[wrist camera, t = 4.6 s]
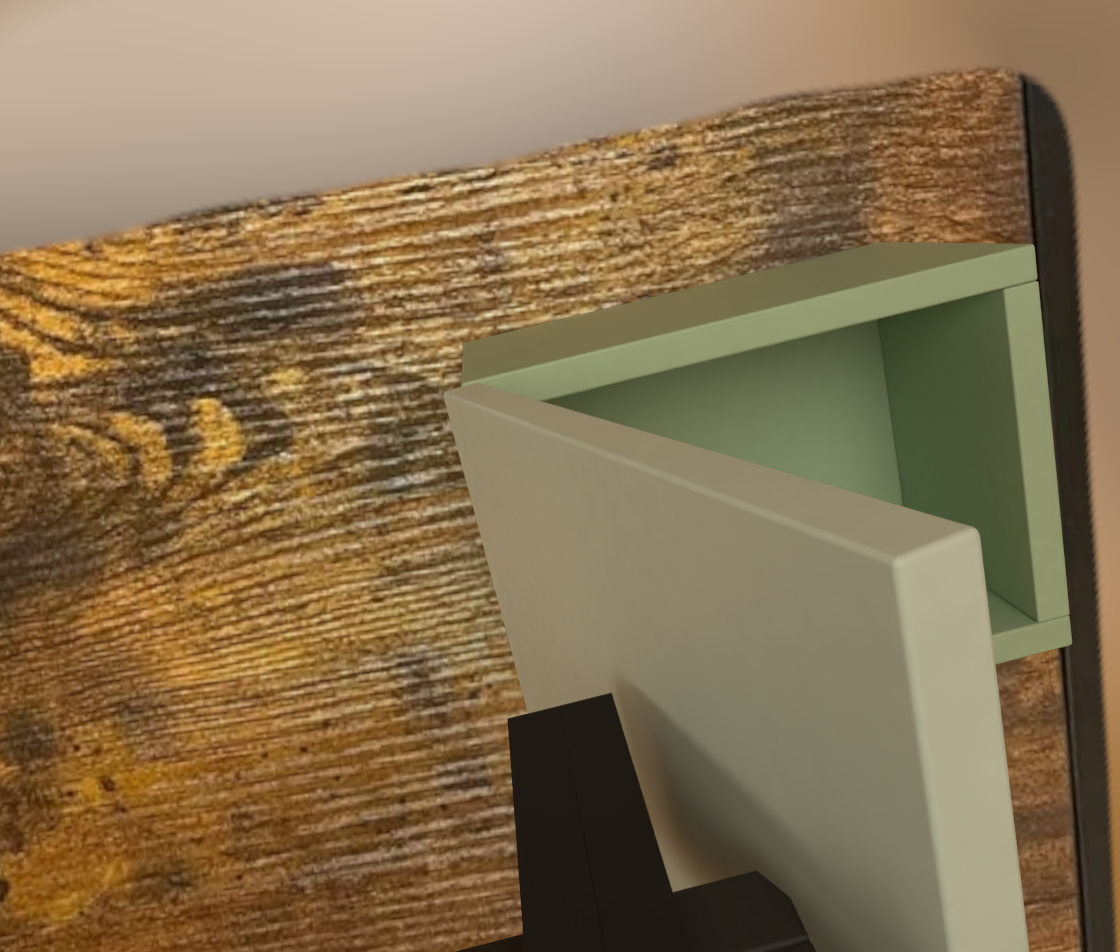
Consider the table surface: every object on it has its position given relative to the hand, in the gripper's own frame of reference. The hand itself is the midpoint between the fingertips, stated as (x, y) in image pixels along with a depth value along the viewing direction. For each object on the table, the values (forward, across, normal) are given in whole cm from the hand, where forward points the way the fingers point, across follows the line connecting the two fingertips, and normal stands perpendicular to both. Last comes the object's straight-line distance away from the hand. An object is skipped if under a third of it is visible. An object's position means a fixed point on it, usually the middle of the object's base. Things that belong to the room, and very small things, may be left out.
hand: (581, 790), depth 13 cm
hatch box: (+16, +6, 0) cm, 17 cm away
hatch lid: (+1, +2, 0) cm, 2 cm away
